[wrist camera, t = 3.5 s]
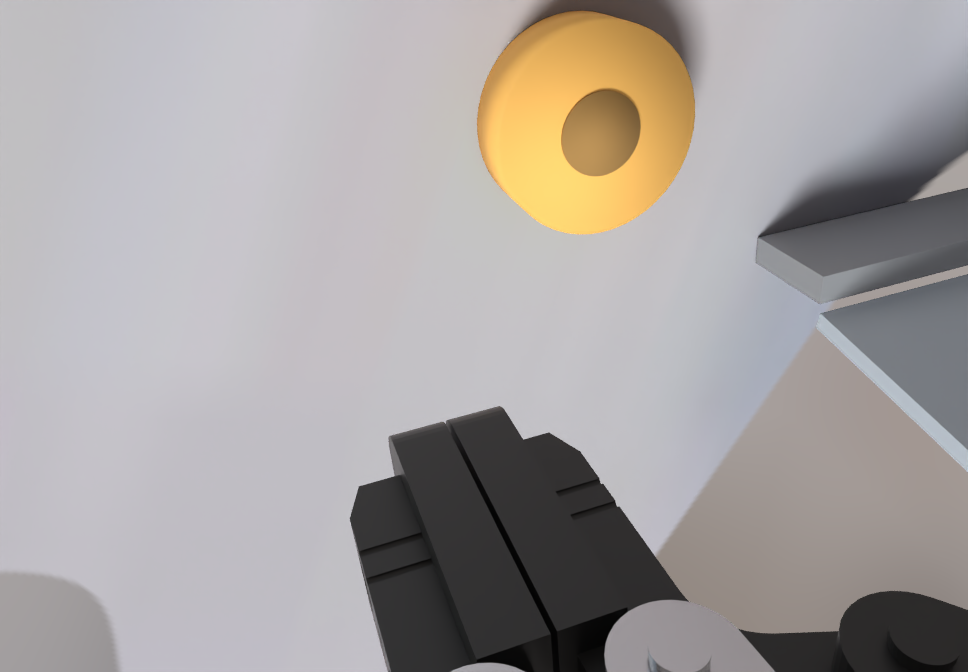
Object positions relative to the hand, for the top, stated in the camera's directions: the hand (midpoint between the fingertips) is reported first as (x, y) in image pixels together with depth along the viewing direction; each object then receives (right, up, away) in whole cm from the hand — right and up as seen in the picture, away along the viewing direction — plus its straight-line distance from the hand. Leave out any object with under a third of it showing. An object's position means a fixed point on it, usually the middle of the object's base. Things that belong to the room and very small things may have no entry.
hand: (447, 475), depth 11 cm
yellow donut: (+3, +9, +14) cm, 16 cm away
